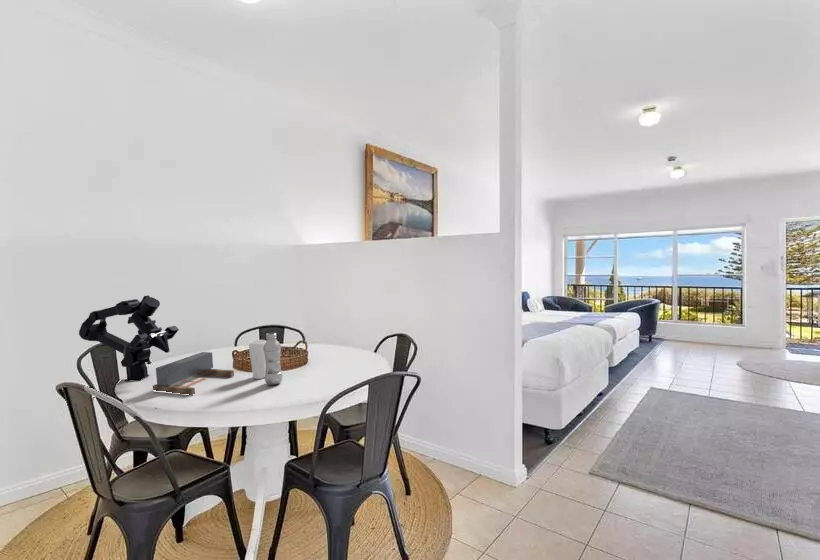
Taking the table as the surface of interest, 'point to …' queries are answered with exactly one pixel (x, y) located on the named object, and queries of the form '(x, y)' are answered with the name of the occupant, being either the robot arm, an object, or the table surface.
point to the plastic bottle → (272, 360)
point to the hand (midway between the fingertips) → (168, 351)
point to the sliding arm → (184, 368)
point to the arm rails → (189, 389)
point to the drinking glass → (257, 358)
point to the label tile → (188, 381)
